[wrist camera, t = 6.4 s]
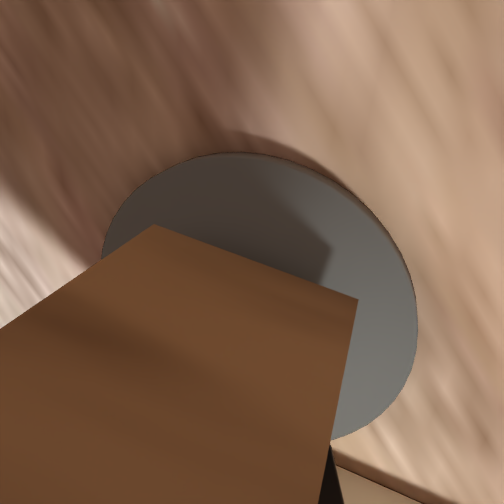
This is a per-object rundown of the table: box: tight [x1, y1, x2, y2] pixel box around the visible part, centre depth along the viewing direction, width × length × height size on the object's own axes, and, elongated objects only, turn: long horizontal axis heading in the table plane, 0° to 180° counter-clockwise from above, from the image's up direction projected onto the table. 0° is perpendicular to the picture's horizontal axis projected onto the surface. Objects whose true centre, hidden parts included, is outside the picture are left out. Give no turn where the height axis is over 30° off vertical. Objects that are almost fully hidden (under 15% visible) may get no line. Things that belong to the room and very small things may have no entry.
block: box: [0, 224, 359, 504], centre depth 8 cm, size 5×5×7 cm
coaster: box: [101, 152, 418, 440], centre depth 12 cm, size 9×9×1 cm
